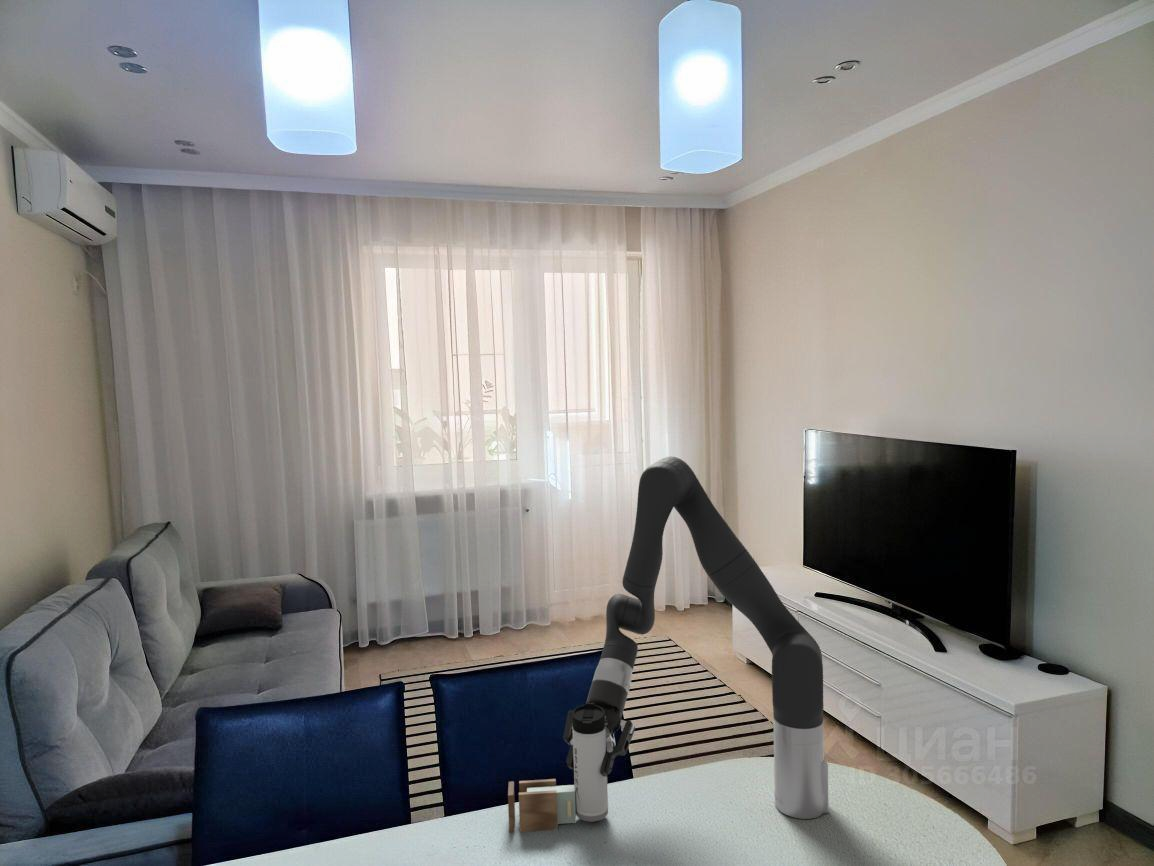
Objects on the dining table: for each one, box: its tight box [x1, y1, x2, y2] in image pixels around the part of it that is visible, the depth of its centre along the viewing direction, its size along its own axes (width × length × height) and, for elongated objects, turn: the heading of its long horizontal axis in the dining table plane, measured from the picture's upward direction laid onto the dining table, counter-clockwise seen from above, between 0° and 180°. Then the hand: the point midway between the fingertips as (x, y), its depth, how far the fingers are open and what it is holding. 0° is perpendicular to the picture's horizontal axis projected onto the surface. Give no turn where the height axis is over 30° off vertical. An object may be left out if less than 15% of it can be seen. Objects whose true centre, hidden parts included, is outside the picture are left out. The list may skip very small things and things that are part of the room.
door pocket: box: [507, 778, 559, 833], centre depth 138 cm, size 9×5×7 cm, turn 94°
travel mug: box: [572, 702, 609, 823], centre depth 139 cm, size 6×7×20 cm
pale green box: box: [527, 784, 577, 825], centre depth 138 cm, size 9×3×6 cm, turn 94°
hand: (587, 771), depth 137 cm, fingers closed on travel mug, 6 cm apart
